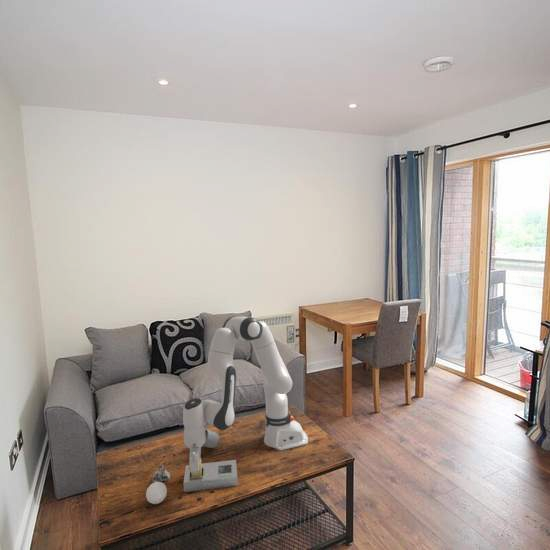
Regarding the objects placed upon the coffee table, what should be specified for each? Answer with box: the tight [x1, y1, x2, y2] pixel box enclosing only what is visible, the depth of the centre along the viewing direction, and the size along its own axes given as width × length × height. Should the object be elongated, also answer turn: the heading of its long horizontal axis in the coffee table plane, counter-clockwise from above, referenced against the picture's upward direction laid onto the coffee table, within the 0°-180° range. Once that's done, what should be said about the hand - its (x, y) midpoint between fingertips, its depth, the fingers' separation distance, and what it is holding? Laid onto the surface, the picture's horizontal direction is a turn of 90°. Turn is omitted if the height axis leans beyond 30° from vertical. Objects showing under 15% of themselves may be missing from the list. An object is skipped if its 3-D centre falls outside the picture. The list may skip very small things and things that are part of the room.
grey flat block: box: [183, 459, 239, 493], centre depth 162 cm, size 22×12×4 cm, turn 99°
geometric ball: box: [145, 481, 168, 505], centre depth 149 cm, size 8×8×8 cm
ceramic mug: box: [202, 428, 220, 449], centre depth 187 cm, size 11×8×8 cm
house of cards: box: [151, 462, 171, 483], centre depth 160 cm, size 9×9×8 cm
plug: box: [188, 457, 202, 477], centre depth 160 cm, size 5×4×9 cm
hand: (196, 468), depth 160 cm, fingers closed on plug, 4 cm apart
